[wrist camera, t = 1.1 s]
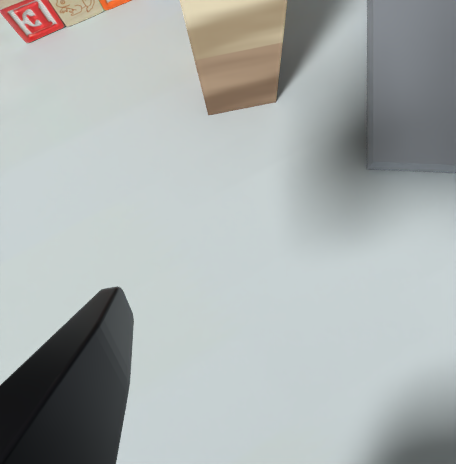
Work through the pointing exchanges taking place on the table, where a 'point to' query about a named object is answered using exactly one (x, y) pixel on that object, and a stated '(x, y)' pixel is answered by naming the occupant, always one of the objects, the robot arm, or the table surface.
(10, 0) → the stack of blocks
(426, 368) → the table surface
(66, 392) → the robot arm
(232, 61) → the tower
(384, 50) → the plate
